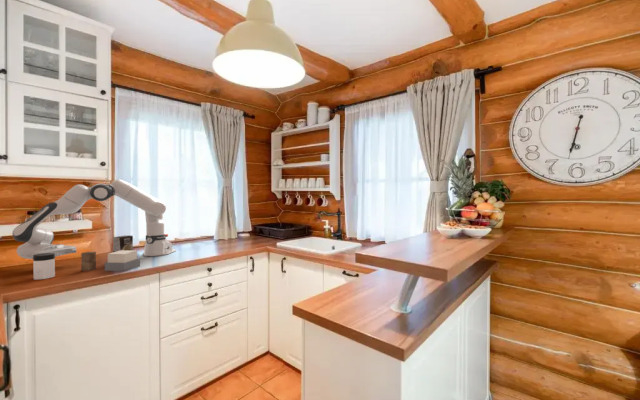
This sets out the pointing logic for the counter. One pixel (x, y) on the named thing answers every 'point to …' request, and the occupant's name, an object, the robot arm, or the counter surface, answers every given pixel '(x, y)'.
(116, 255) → the tower top
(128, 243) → the coffee box
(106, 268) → the tower base
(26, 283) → the counter surface
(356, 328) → the counter surface
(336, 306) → the counter surface
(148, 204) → the robot arm
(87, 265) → the walnut block
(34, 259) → the jar
